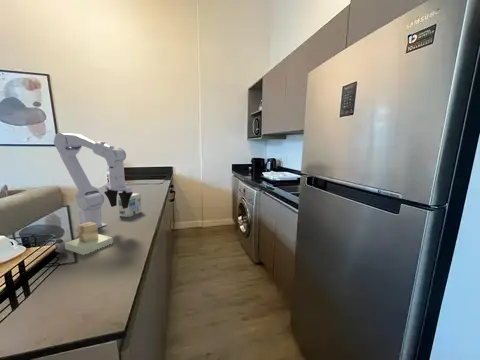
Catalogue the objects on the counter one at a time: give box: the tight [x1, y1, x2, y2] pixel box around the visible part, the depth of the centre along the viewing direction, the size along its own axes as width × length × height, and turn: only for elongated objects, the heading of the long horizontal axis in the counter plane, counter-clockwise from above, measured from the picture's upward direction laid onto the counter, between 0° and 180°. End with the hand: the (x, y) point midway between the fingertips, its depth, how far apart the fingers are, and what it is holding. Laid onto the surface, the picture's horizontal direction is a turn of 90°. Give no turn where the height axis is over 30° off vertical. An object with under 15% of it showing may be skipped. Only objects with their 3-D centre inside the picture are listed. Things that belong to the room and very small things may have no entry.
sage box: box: [64, 233, 114, 256], centre depth 90 cm, size 11×11×3 cm
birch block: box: [77, 222, 99, 243], centre depth 90 cm, size 4×4×6 cm
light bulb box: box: [117, 192, 142, 218], centre depth 131 cm, size 11×7×11 cm, turn 168°
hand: (119, 207), depth 106 cm, fingers open, 7 cm apart
